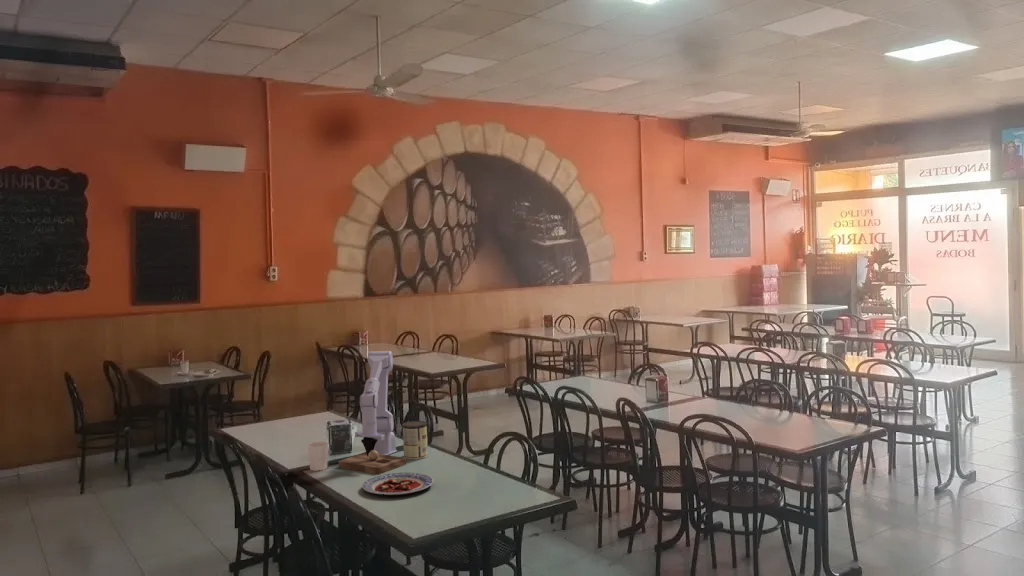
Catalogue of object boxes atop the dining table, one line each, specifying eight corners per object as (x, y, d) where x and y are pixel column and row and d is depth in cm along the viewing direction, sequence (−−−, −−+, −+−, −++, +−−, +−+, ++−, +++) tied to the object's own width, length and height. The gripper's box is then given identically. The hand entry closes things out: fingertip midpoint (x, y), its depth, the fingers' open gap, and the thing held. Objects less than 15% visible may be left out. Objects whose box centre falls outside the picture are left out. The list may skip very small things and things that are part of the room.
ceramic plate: (420, 501, 262) (420, 492, 262) (350, 498, 267) (350, 490, 267) (442, 479, 287) (442, 471, 287) (378, 477, 292) (377, 469, 292)
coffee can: (406, 453, 326) (405, 420, 325) (430, 453, 325) (429, 420, 324) (400, 459, 315) (399, 426, 315) (425, 459, 314) (423, 426, 314)
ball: (373, 448, 309) (379, 449, 307) (374, 458, 310) (381, 458, 307) (365, 451, 306) (372, 452, 304) (367, 461, 306) (373, 461, 304)
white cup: (325, 471, 302) (324, 446, 301) (306, 471, 302) (305, 446, 301) (330, 465, 309) (330, 441, 309) (311, 466, 310) (310, 441, 309)
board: (365, 457, 320) (365, 451, 320) (406, 464, 309) (406, 457, 308) (338, 467, 307) (338, 461, 307) (379, 474, 295) (379, 467, 295)
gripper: (349, 422, 308) (349, 456, 308) (375, 426, 300) (376, 460, 300) (361, 419, 313) (362, 452, 314) (387, 423, 306) (388, 456, 306)
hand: (370, 456), depth 307 cm, fingers closed, pressing on ball
